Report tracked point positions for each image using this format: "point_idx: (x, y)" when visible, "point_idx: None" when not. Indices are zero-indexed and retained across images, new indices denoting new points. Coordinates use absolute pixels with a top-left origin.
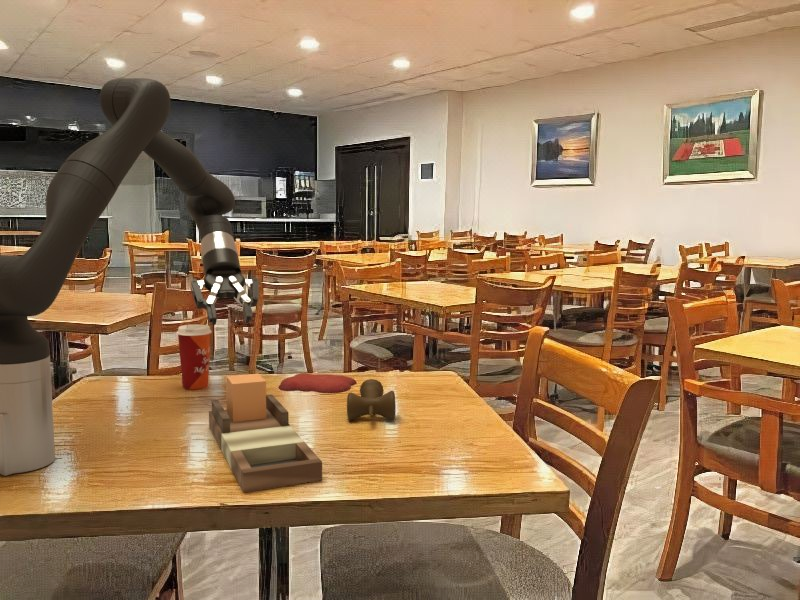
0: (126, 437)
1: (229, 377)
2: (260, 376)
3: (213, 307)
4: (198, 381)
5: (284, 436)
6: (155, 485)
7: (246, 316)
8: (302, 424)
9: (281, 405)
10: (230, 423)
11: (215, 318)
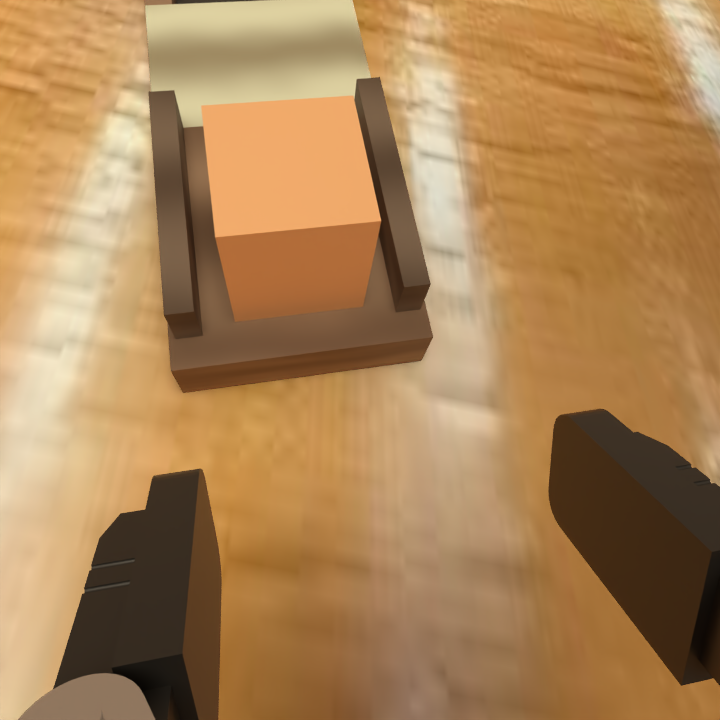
0: (670, 316)
1: (366, 195)
2: (213, 183)
3: (688, 510)
4: None
5: (193, 51)
6: (508, 10)
7: (200, 471)
8: (79, 315)
9: (157, 163)
10: None
11: (575, 413)
